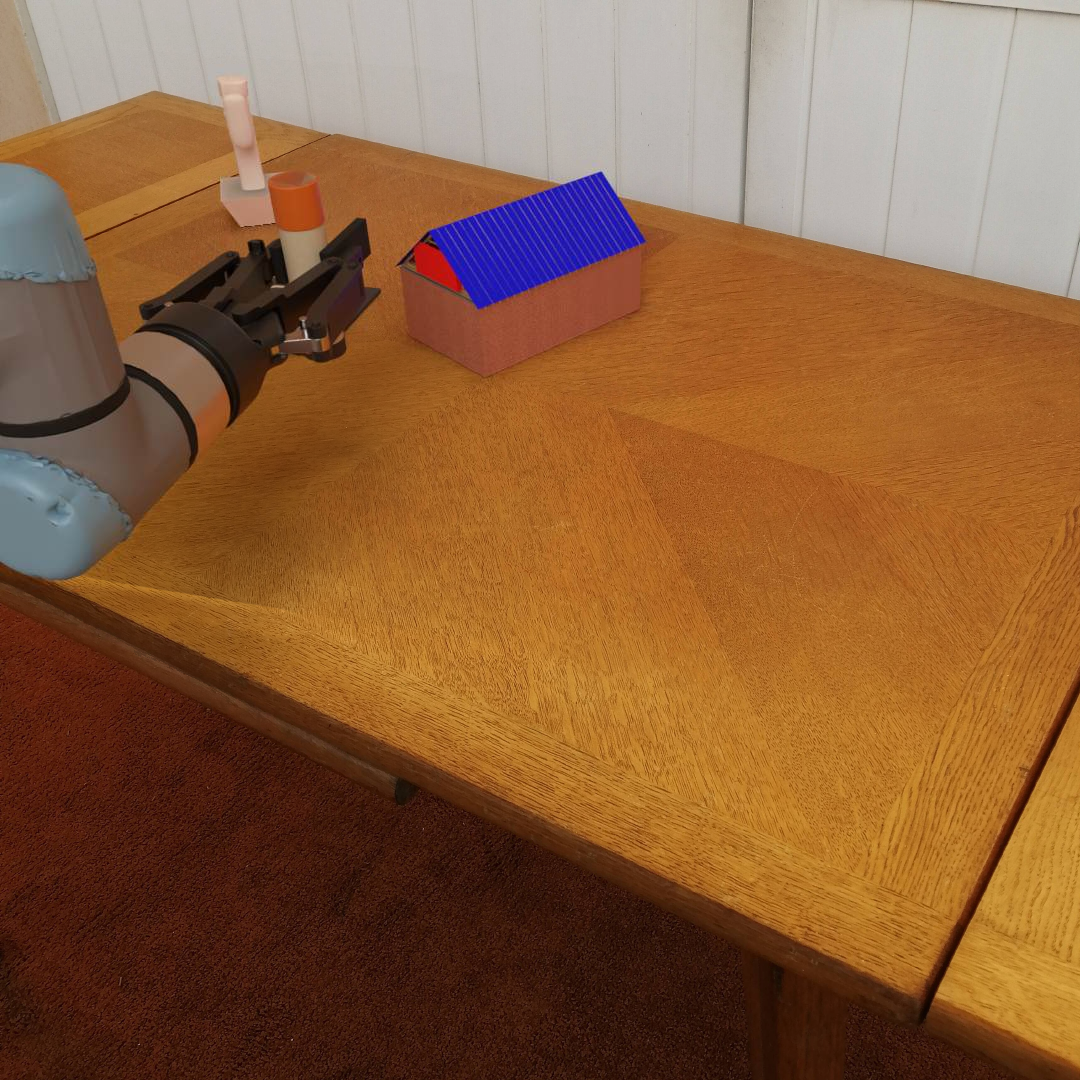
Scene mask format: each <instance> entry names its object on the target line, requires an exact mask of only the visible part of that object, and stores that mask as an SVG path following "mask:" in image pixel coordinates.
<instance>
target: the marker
mask: <svg viewBox="0 0 1080 1080" xmlns="http://www.w3.org/2000/svg"><path fill="white" fill-rule="evenodd" d="M283 172H284V173H280V174H277V175H274V176H272V177H271V178H270V179H269V180H268V182H267V184H268V189H269V193H270V198H271V203H272V208H273V213H274V218H275V223H276V224H275V226H276V227H277V229H278V235H279V238H280V240H281V245H282V250H283V255H284V260H285V265H286V270H287V275H288V280H289V283H291V282H292V281H293V280H295V279H296V278H298V277H299V276H301V275H302V274H304V273H305V272H307V271H308V270H310V269H311V268H313V267H314V266H316V265H317V264H318V263H320V262H321V261H320V255H319V252H320V251H321V250H322V249H324V248H325V247H326V246H327V245H328V244H329V242H328V236H327V232H326V226H325V225H326V224H325V221H326V217H325V211H324V205H323V199H322V194H321V188H320V183H319V178H318V176H317V175H316V174H315V173H313V172H310V171H307V170H305V171H304V170H291V171H283ZM347 347H348V346H347V342H346V335H345V332H344V333H343V331H342V332H341V334H340V335H339V337H338V338H337V339H336V341H335V342H334V343H333V345H332V359H331V360H330V361H334V360H336V359H338V358H341V357H342V356H343V355H345V353H346V352H347V349H348V348H347ZM302 356H303V357H304V358H305V359H306V360H309V361H313V362H315V361H314V360H313V356H312V354H307V353H303V355H302Z"/></svg>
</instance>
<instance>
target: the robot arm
mask: <svg viewBox="0 0 1080 1080" xmlns="http://www.w3.org/2000/svg"><path fill="white" fill-rule="evenodd" d="M246 243H247V248H248V254H247V255H246V256H244V257H243V256H240V252H238V251H236V250H227V251H225V252H223V253H221V254H220V255H219V256H217V257H216V258H214V259H212V260H211V261H210V262H208V263H207V264H206V265H204V266H203V267H201V268H200V269H199V270H197V271H195V272H194V273H193V274H191V275H189V276H188V277H187V278H186V279H184V280H183V281H181V282H180V283H178V284H177V285H175V286H174V287H172V288H171V289H170V290H168V291H166V292H165V293H164V294H161V295H158V296H156V297H154V298H152V299H149V300H147V301H144V302H142V303H140V304H139V305H138V310H139V313H140V317H141V320H142V323H143V324H142V325H141V326H140V327H139V328H137V329H136V331H134V332H133V333H132V334H131V335H129V336H127V337H125V338H124V339H122V340H121V341H120V342H119V343H118V341H117V339H116V335H115V332H114V329H113V325H112V322H111V319H110V315H109V312H108V308H107V305H106V301H105V298H104V295H103V292H102V287H101V285H100V282H99V279H98V275H97V272H98V271H99V270H98V267H97V264H96V261H95V259H94V258H93V257H92V256H91V254H90V251H89V249H88V246H87V243H86V241H85V238H84V236H83V233H82V230H81V227H80V225H79V222H78V219H77V218H76V216H75V214H74V211H73V208H72V206H71V204H70V202H69V198H68V196H67V194H66V192H65V191H64V189H63V187H62V186H61V184H60V183H59V182H58V181H57V180H54V179H53V178H52V177H51V176H49V175H48V174H46V173H45V172H43V171H42V170H40V169H37V168H35V167H32V166H29V165H24V164H20V163H12V162H0V563H2V564H3V565H5V566H6V567H8V568H9V569H12V570H14V571H15V572H18V573H20V574H23V575H25V576H28V577H31V578H41V579H45V580H49V581H69V580H72V579H75V578H78V577H80V576H82V575H84V574H85V573H87V572H88V571H90V570H91V569H92V568H93V567H94V566H95V565H97V564H98V563H99V562H100V561H101V560H102V559H104V558H105V557H106V556H107V555H108V554H109V553H110V552H112V551H113V550H114V549H115V548H116V547H117V546H118V545H119V544H121V543H123V542H125V541H127V540H128V539H129V538H130V537H131V535H132V533H133V531H134V529H135V528H136V526H138V524H139V523H140V522H141V521H142V519H143V518H144V517H145V516H146V515H147V514H148V513H149V511H151V510H152V508H154V506H155V505H156V504H157V503H158V502H159V501H160V500H161V498H163V497H164V496H165V494H167V492H168V491H169V490H170V489H171V488H172V487H173V486H174V485H175V483H177V481H178V480H179V479H181V478H182V476H183V475H184V474H185V473H186V472H187V471H188V470H189V469H190V468H191V467H192V465H194V464H195V462H196V461H197V460H198V459H199V458H200V457H201V456H202V455H203V454H204V453H205V452H206V451H207V450H208V449H209V448H210V447H211V446H212V445H213V444H214V442H216V440H217V439H218V438H219V437H220V436H221V435H222V434H223V433H224V432H225V431H226V429H228V428H229V427H231V426H232V425H233V423H235V421H236V420H237V419H238V418H239V417H240V416H241V415H242V414H243V413H244V412H245V411H246V410H247V409H248V407H250V406H251V405H252V404H253V402H255V400H256V399H257V397H258V395H259V393H260V391H261V389H262V386H263V383H264V381H265V378H266V376H267V374H268V372H269V371H271V370H272V369H274V368H276V367H279V366H280V365H283V364H284V363H285V362H286V361H287V360H288V359H289V356H290V355H296V354H295V353H307V354H312V356H313V360H314V361H313V362H314V363H319V364H323V363H327V362H330V361H332V360H331V359H332V345H333V343H334V342H335V341H336V339H337V338H338V337H339V335H340V334H341V332H342V331H343V330H344V328H345V327H346V326H347V324H348V323H349V322H350V320H351V319H352V318H353V316H354V315H355V314H356V312H357V311H358V309H359V308H360V307H361V305H362V304H363V303H364V301H365V300H366V293H365V287H366V286H365V281H364V275H363V269H364V266H365V263H364V261H365V260H367V259H368V257H370V255H371V254H372V250H371V244H370V243H371V242H370V237H369V229H368V223H367V218H365V217H356V218H355V219H353V221H351V222H350V223H349V224H348V225H347V226H346V227H345V228H344V229H342V231H340V233H338V234H337V235H336V236H335V237H334V238H333V239H332V240H331V241H329V242H328V245H327V246H326V247H325V248H324V249H322V250H321V251H320V252H319V255H320V261H321V262H320V263H318V264H317V265H316V266H314V267H313V268H311V269H310V270H308V271H307V272H305V273H304V274H302V275H301V276H299V277H298V278H296V279H295V280H293V281H292V282H291V283H289V284H288V285H286V284H287V283H288V282H289V280H288V275H287V270H286V265H285V260H284V255H283V250H282V245H281V240H280V237H278V238H276V239H273V240H272V241H271V242H269V243H268V244H267V245H266V244H265V241H264V239H260V238H255V239H251V240H248V241H247V242H246ZM225 273H226V276H227V282H226V279H225ZM272 278H275V279H276V284H284V285H286V286H285V287H283V288H282V289H280V290H279V291H277V292H271V291H269V290H270V288H271V287H272V286H273V281H272Z"/></svg>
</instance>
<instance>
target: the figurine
mask: <svg viewBox="0 0 1080 1080" xmlns="http://www.w3.org/2000/svg"><path fill="white" fill-rule="evenodd" d="M216 82H217V87H218V92H219V96H220V99H221V105H222V110H223V116H224V118H225V121H226V126H227V130H228V136H229V138H230V141H231V143H232V148H233V153H234V157H235V161H236V168H237V170H238V176H229V177H228V176H227V177H220V178H219V182H220V183H219V184H220V185H219V186H220V187H219V189H220V199H219V200H220V202H221V204H222V205H223V206H224V207H225V209H226V210H227V211H228V212H229V214H230V215H231V216H232V218H233V219H234V220H235V222H236V223H237V224H238V226H240V228H241V227H243V228H245V227H244V226H252V227H256V226H255V225H261V226H264V225H263V224H270V225H272V224H271V223H275V218H274V213H273V208H272V203H271V198H270V193H269V189H268V184H267V182H268V180H269V179H270V178H271V177H272V176H274V175H277V174H280V173H284V172H285V171H280V172H279V171H277V172H271V173H270V172H269V173H264V171H263V166H262V161H261V157H260V156H261V155H260V151H259V147H258V140H257V136H256V130H255V125H254V119H253V115H252V112H251V108H250V107H251V106H250V103H249V98H248V97H249V88H248V79H247V78H246V77H244V76H240V75H228V76H219V77H217V79H216Z"/></svg>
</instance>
